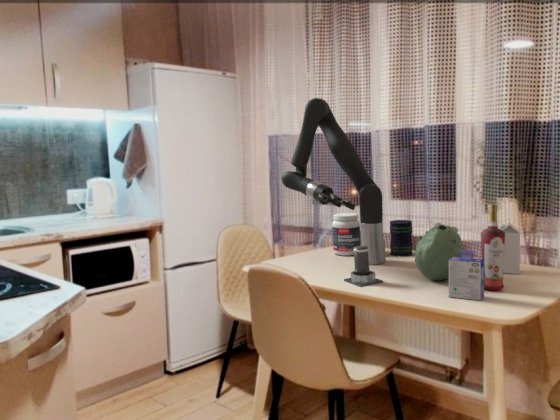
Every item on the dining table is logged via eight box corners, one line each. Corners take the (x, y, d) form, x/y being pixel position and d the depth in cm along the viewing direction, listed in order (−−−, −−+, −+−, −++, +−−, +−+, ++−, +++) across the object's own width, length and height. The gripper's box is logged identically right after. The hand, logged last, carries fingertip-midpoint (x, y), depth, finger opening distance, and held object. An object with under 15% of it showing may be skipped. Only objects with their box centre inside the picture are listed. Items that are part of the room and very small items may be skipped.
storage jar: (415, 252, 220) (415, 220, 218) (408, 257, 212) (408, 223, 210) (394, 251, 225) (393, 219, 224) (387, 255, 217) (386, 222, 215)
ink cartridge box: (484, 296, 152) (484, 251, 151) (481, 301, 148) (481, 254, 146) (452, 292, 158) (451, 249, 156) (448, 297, 153) (447, 252, 151)
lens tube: (363, 276, 180) (362, 245, 179) (373, 279, 175) (371, 247, 174) (352, 279, 178) (350, 247, 176) (361, 282, 173) (359, 249, 171)
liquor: (485, 292, 156) (485, 206, 153) (477, 286, 163) (477, 204, 160) (508, 291, 156) (509, 205, 152) (499, 285, 163) (499, 203, 160)
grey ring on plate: (365, 276, 183) (365, 268, 183) (382, 282, 174) (382, 273, 174) (343, 280, 179) (343, 272, 178) (359, 286, 170) (359, 277, 169)
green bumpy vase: (405, 282, 173) (404, 226, 170) (430, 271, 186) (429, 219, 184) (448, 289, 162) (447, 230, 160) (471, 276, 175) (470, 222, 173)
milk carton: (519, 269, 182) (519, 219, 180) (519, 274, 175) (520, 222, 173) (498, 268, 185) (498, 219, 183) (498, 273, 178) (498, 222, 176)
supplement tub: (341, 257, 218) (339, 217, 215) (328, 252, 229) (326, 214, 227) (366, 254, 222) (364, 214, 220) (352, 249, 234) (350, 212, 232)
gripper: (310, 181, 193) (339, 194, 182) (333, 186, 203) (362, 199, 192) (304, 198, 195) (332, 213, 183) (327, 203, 204) (355, 217, 193)
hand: (347, 206), depth 188 cm, fingers open, 8 cm apart
